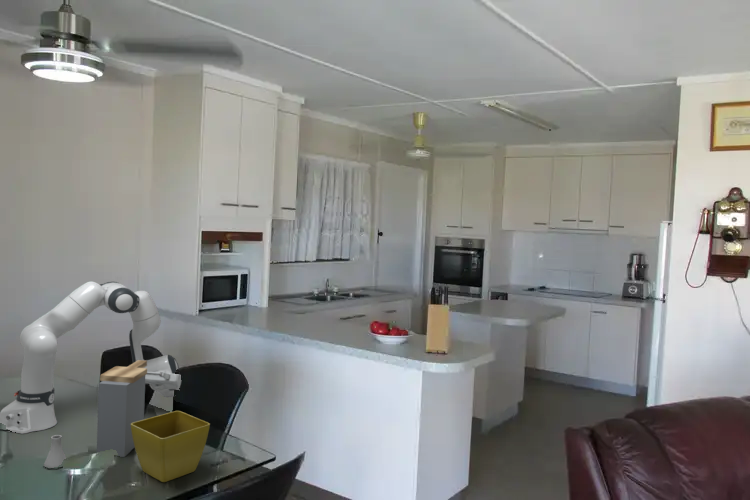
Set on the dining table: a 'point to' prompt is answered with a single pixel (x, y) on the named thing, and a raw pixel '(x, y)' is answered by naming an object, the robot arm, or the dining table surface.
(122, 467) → the dining table surface
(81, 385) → the dining table surface
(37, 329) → the robot arm
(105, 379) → the oak paddle board
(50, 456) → the flask
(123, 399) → the grey post
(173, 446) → the flower pot
